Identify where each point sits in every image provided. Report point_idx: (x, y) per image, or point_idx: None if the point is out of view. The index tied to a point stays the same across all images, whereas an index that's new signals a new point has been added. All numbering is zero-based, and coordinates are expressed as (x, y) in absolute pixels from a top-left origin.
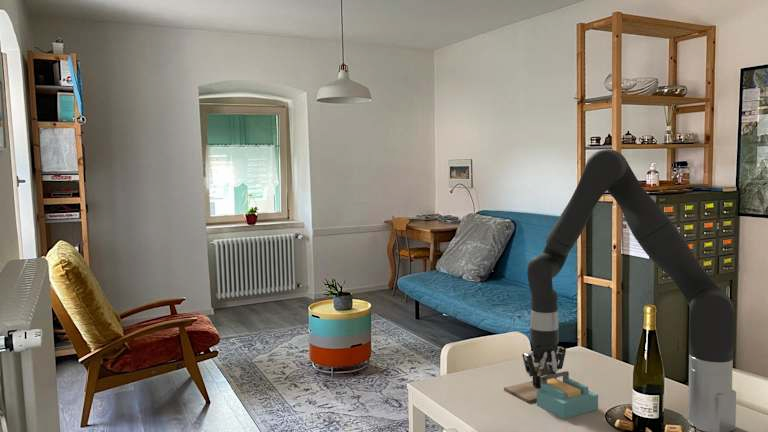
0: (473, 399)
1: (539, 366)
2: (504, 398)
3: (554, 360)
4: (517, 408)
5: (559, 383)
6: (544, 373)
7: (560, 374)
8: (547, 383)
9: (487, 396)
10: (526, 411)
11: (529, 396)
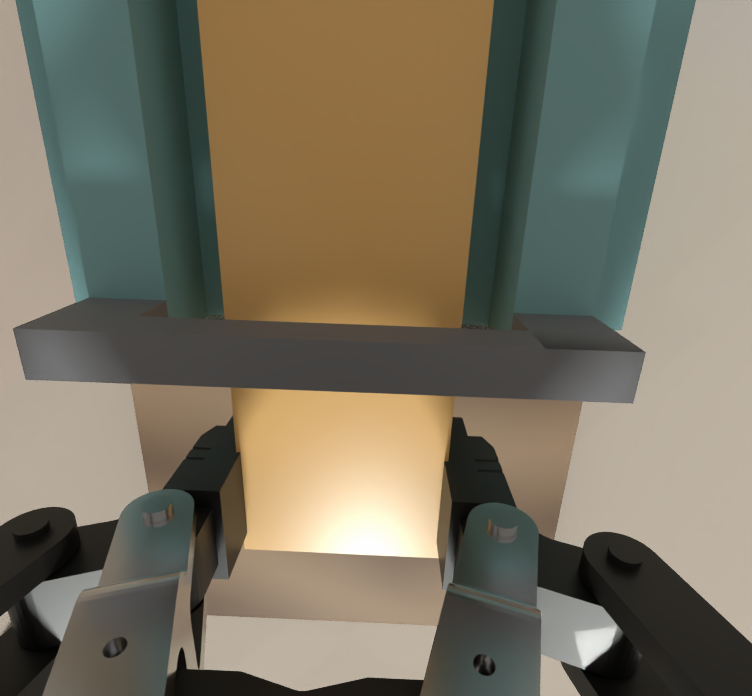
0: None
1: (535, 633)
2: (648, 513)
3: (103, 671)
4: (744, 322)
5: (305, 266)
6: None
7: (223, 329)
8: (520, 300)
9: (712, 590)
10: (744, 231)
11: (513, 423)
